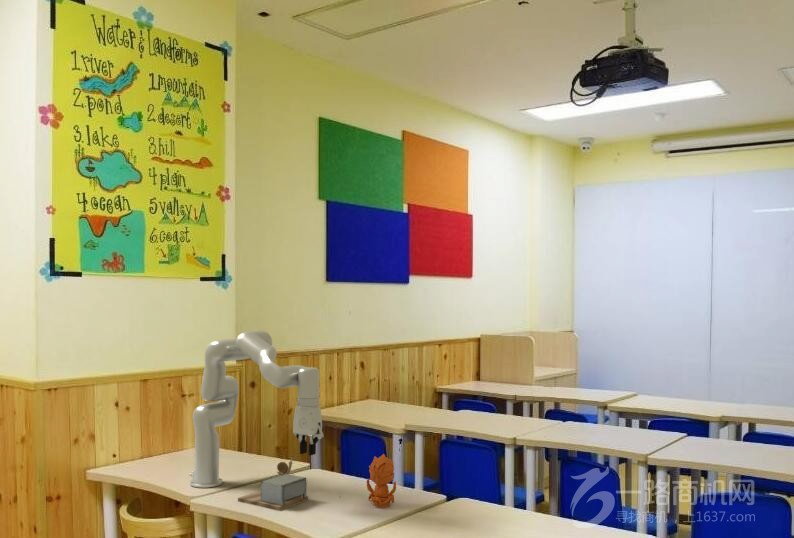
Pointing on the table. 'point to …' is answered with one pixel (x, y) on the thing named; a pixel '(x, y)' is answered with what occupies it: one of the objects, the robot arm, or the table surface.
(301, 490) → the block
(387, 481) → the orange figurine
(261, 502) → the board
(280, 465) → the snail figurine
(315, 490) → the table surface
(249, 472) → the table surface
